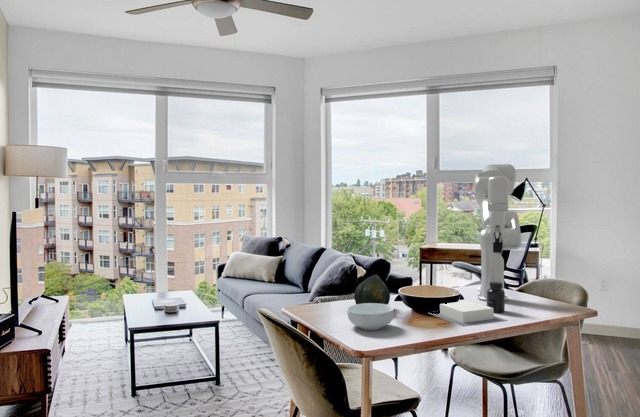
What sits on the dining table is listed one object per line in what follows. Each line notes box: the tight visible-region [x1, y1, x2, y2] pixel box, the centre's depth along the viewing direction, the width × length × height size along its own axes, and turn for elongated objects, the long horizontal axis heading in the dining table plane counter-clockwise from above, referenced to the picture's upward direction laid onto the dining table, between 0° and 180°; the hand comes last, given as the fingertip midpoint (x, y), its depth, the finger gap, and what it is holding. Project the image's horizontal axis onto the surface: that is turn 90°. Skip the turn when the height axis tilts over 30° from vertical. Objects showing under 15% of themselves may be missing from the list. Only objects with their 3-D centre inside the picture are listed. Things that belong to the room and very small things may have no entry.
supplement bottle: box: [486, 282, 506, 314], centre depth 202 cm, size 7×7×12 cm
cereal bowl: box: [346, 303, 395, 331], centre depth 183 cm, size 17×17×7 cm
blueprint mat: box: [428, 312, 508, 327], centre depth 195 cm, size 22×20×1 cm
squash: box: [353, 274, 391, 305], centre depth 209 cm, size 14×15×15 cm
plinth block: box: [439, 300, 495, 323], centre depth 194 cm, size 14×14×4 cm
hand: (497, 251), depth 202 cm, fingers open, 9 cm apart
